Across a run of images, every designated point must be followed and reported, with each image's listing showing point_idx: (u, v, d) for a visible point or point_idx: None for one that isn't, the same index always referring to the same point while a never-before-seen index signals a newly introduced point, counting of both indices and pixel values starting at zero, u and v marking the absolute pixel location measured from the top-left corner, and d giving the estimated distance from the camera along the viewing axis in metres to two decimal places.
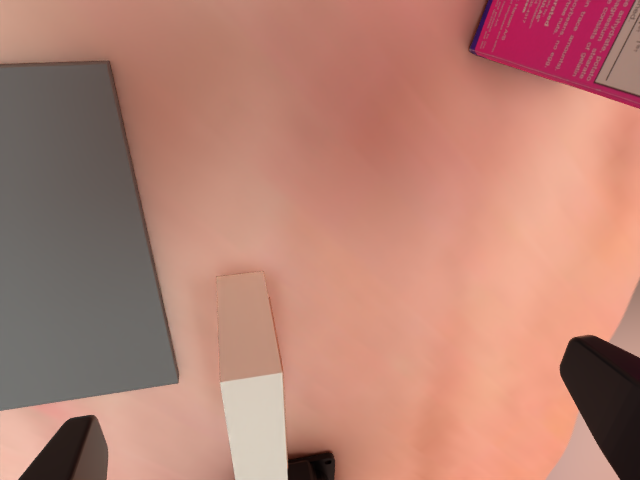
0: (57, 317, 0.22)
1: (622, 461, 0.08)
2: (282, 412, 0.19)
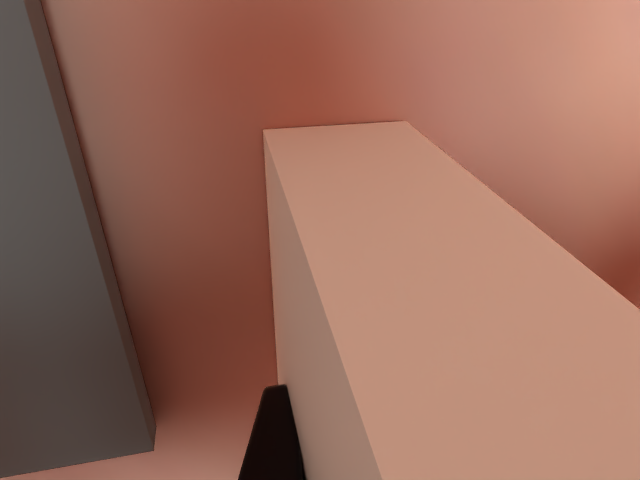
0: None
1: None
2: None
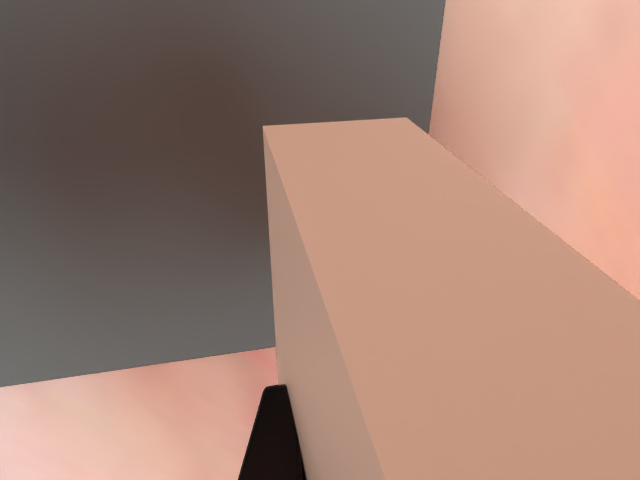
0: None
1: None
2: None
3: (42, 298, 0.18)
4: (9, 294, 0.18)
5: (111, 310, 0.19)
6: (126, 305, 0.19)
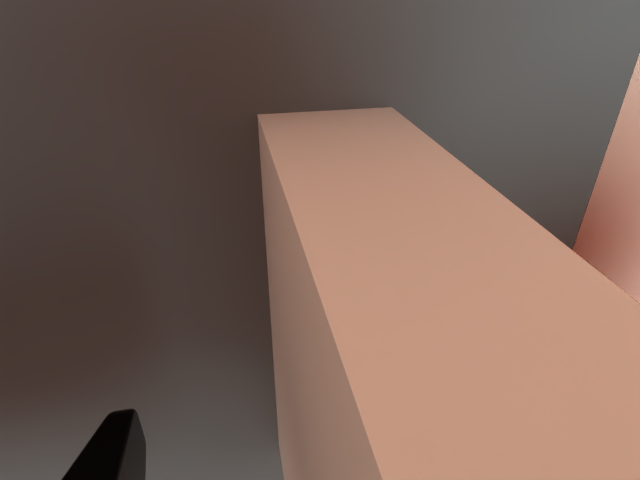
0: None
1: None
2: None
3: None
4: None
5: None
6: None
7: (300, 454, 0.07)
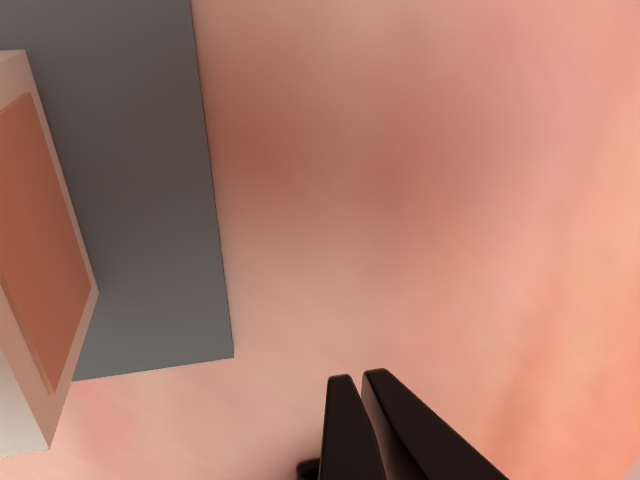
0: (95, 268, 0.18)
1: None
2: None
3: None
4: None
5: None
6: None
7: None
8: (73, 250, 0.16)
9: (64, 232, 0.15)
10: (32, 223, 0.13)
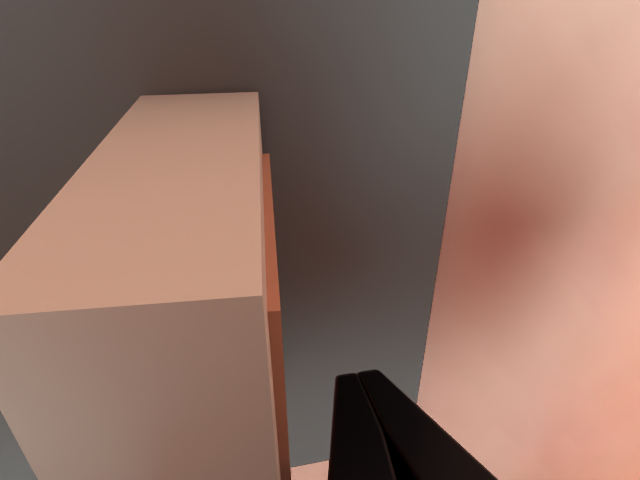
0: None
1: None
2: (270, 469, 0.05)
3: None
4: None
5: (5, 454, 0.14)
6: None
7: None
8: None
9: None
10: None
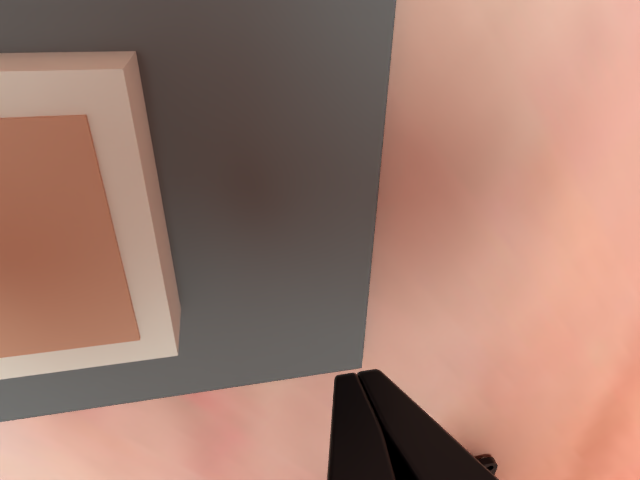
0: (248, 277, 0.17)
1: None
2: None
3: None
4: None
5: None
6: None
7: None
8: (106, 292, 0.13)
9: (89, 269, 0.13)
10: None
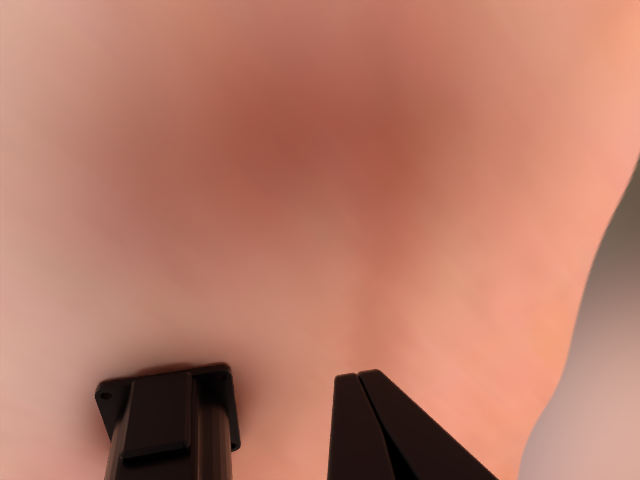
0: None
1: None
2: None
3: None
4: None
5: None
6: None
7: None
8: None
9: None
10: None
